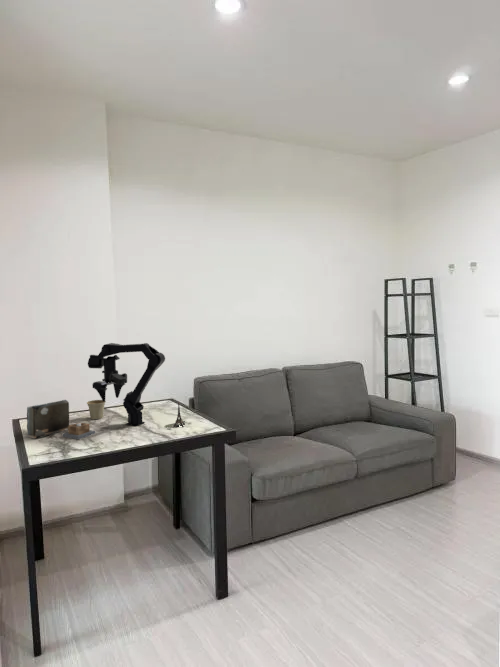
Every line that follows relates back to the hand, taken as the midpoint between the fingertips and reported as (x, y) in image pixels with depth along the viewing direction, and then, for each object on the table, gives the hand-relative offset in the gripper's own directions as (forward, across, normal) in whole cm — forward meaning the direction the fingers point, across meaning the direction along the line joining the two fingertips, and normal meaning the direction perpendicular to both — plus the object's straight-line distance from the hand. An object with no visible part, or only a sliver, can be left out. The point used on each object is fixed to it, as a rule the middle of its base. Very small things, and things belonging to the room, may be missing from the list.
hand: (110, 399), depth 238 cm
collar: (+11, -22, -1) cm, 25 cm away
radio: (+12, -25, +15) cm, 32 cm away
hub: (+12, -22, -1) cm, 25 cm away
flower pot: (+12, +4, +14) cm, 19 cm away
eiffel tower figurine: (+13, +11, -33) cm, 37 cm away
